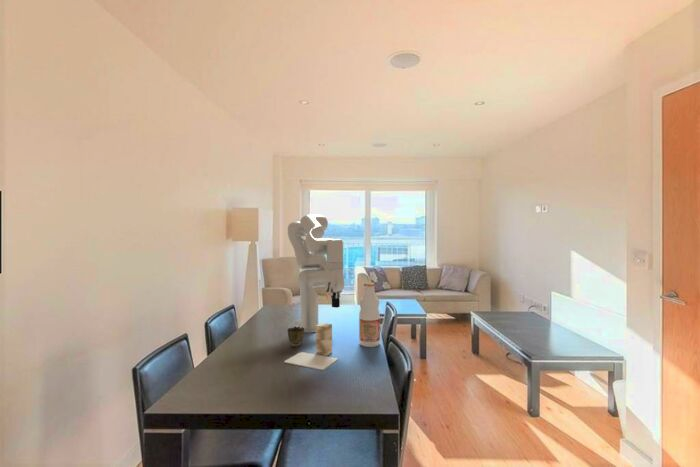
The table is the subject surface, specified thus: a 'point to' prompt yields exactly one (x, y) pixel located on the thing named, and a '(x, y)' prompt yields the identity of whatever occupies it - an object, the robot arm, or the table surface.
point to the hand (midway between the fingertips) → (335, 306)
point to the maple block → (323, 339)
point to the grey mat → (311, 360)
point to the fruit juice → (369, 317)
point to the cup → (295, 335)
